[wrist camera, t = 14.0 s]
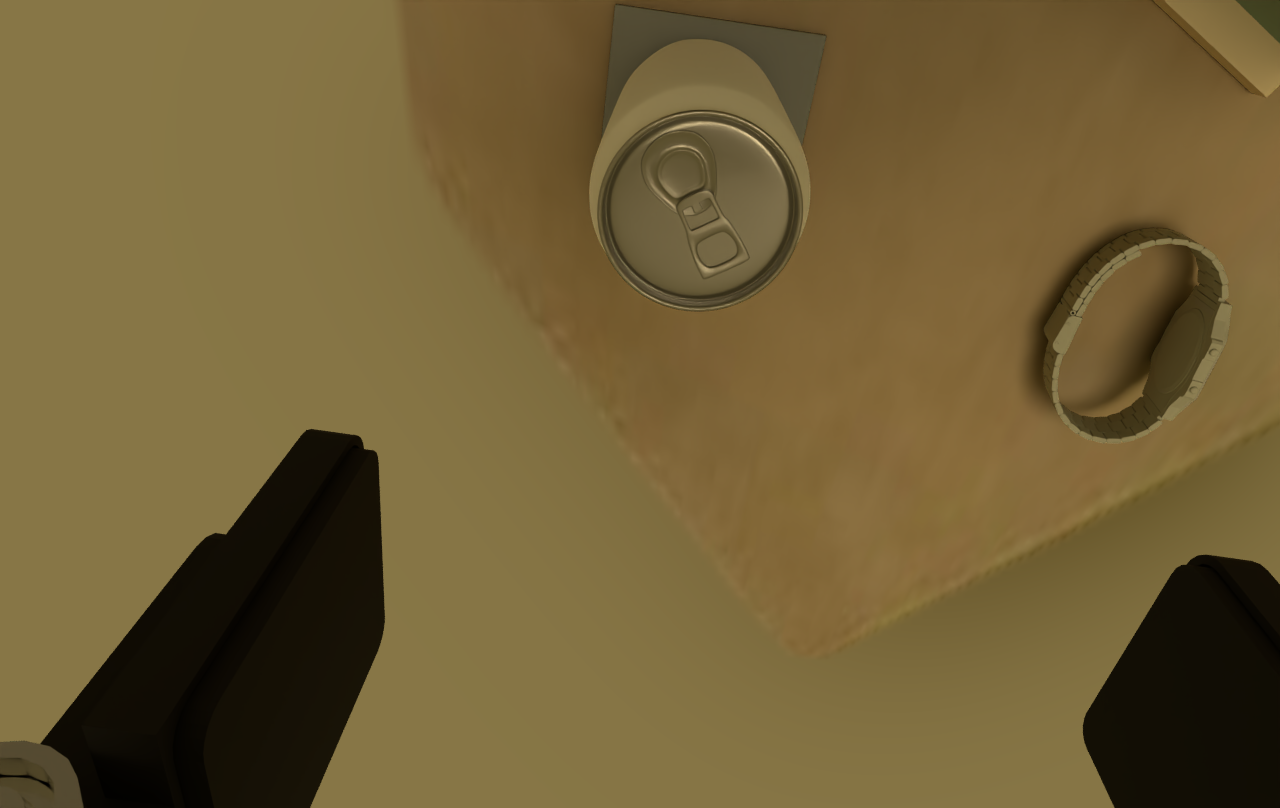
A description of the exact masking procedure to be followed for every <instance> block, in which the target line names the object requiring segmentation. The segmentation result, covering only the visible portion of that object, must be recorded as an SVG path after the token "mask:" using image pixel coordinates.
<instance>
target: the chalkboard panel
mask: <svg viewBox="0 0 1280 808" xmlns="http://www.w3.org/2000/svg"><path fill="white" fill-rule="evenodd" d="M1153 1H1154V2H1155V3H1156V4H1157V5H1158V6H1159V7H1160V8H1161V9H1162V10H1163V11H1164V12H1166V13H1167V14H1168V15H1169V16H1170V17H1171V18H1172V19H1173V20H1174V21H1175V22H1176V23H1177V24H1178V25H1179V26H1180V27H1181V28H1183V29H1184V30H1185V31H1186V32H1187V33H1188V34H1189V35H1190V36H1191V37H1192V38H1193V39H1194V40H1195V41H1196V42H1197V43H1199V44H1200V45H1201V46H1202V47H1203V48H1204V49H1205V50H1206V51H1207V52H1208V53H1209V54H1210V55H1211V56H1212V57H1213V58H1215V59H1216V60H1217V61H1218V62H1219V63H1220V64H1221V65H1222V66H1223V67H1224V68H1225V69H1226V70H1227V71H1228V72H1229V73H1230V74H1232V75H1233V76H1234V77H1235V78H1236V79H1237V80H1238V81H1239V82H1240V83H1241V84H1242V85H1243V86H1244V87H1245V88H1246V89H1248V90H1249V91H1250V92H1251V93H1253V94H1257V95H1260V96H1263V97H1268V96H1269V95H1270V94H1271V93H1272V92H1273V91H1274V90H1275V89H1276V88H1277V87H1278V86H1279V85H1280V0H1153Z"/></svg>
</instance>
